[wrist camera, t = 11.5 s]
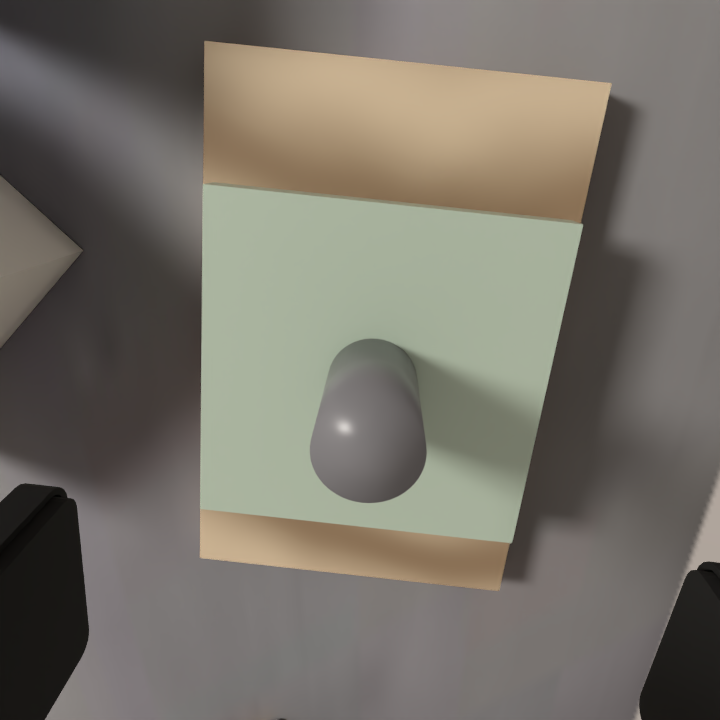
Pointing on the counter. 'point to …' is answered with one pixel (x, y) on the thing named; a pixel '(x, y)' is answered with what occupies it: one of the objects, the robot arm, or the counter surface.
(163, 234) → the counter surface
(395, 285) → the lid
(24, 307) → the storage box
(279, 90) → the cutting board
